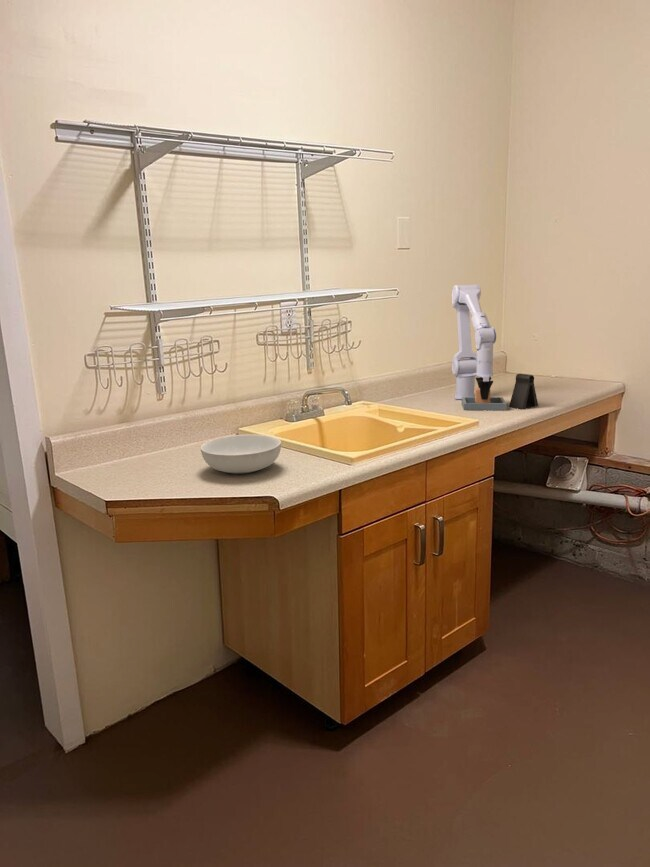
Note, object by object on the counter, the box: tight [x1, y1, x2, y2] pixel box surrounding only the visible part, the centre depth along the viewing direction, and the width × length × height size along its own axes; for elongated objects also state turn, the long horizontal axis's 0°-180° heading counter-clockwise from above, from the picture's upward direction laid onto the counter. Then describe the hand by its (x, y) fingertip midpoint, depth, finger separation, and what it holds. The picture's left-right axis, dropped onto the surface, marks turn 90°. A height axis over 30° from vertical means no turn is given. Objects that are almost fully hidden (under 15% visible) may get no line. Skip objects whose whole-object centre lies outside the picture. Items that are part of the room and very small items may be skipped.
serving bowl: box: [199, 433, 282, 474], centre depth 172 cm, size 21×21×7 cm
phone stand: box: [508, 373, 539, 410], centre depth 240 cm, size 9×6×12 cm, turn 124°
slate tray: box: [461, 396, 508, 412], centre depth 243 cm, size 13×15×2 cm
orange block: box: [474, 387, 491, 403], centre depth 242 cm, size 5×5×5 cm
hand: (483, 397), depth 242 cm, fingers closed on orange block, 5 cm apart
